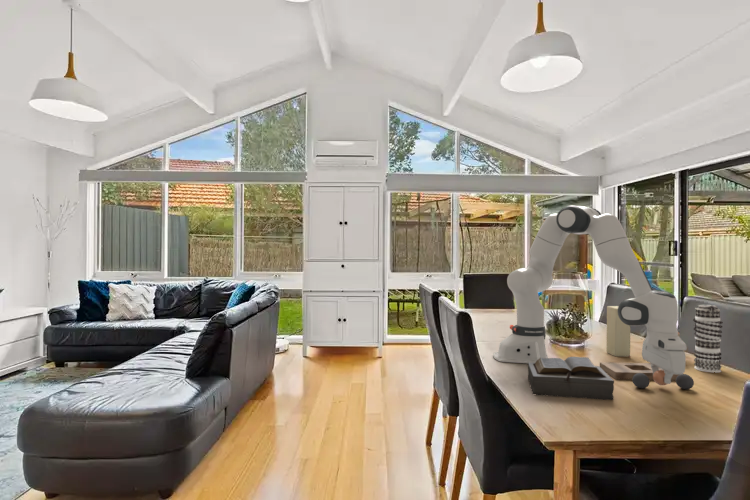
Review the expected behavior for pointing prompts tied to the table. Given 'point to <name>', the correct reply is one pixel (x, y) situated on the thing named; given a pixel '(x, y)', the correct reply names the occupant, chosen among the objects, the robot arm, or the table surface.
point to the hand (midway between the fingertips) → (661, 380)
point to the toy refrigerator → (617, 334)
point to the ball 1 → (640, 380)
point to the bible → (570, 378)
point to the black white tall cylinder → (707, 338)
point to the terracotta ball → (659, 377)
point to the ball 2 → (684, 381)
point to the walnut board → (629, 370)
